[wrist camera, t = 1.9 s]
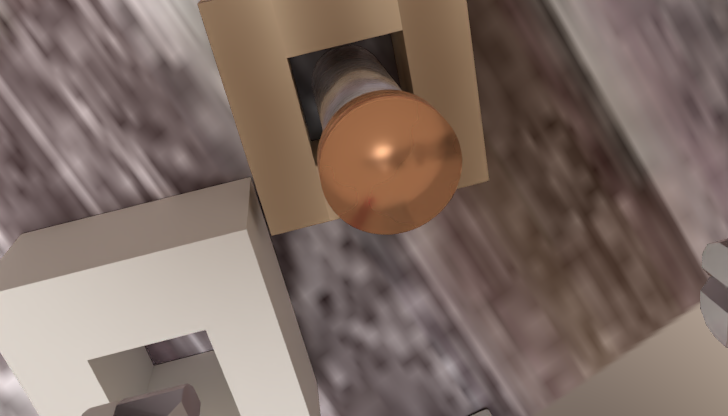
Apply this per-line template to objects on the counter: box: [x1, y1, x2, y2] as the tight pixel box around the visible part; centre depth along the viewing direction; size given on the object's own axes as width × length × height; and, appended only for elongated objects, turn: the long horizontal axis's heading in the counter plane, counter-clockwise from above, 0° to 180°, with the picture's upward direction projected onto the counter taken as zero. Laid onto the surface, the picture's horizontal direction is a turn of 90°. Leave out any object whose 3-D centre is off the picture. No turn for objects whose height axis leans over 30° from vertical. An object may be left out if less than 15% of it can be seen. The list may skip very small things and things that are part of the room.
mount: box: [198, 0, 489, 236], centre depth 23 cm, size 9×9×3 cm
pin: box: [312, 45, 462, 235], centre depth 20 cm, size 4×4×10 cm
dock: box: [0, 177, 320, 416], centre depth 26 cm, size 10×12×5 cm
